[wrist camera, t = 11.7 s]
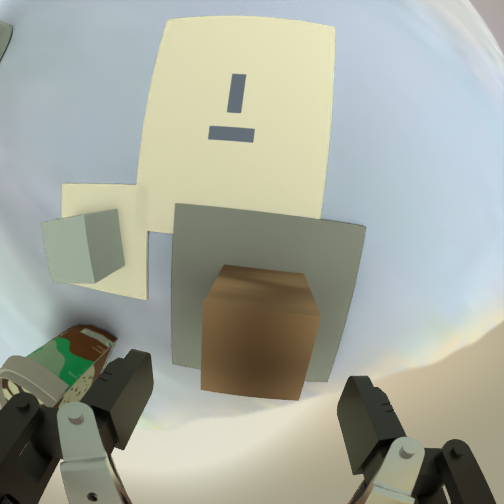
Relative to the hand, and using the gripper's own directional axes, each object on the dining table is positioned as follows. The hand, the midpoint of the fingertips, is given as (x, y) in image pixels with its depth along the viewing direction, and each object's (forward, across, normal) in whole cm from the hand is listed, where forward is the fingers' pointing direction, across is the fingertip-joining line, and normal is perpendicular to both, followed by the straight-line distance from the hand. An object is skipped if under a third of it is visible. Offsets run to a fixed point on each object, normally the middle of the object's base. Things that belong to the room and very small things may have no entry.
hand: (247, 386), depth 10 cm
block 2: (+8, 0, 0) cm, 8 cm away
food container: (+9, +16, +8) cm, 20 cm away
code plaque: (+9, +3, -12) cm, 15 cm away
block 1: (+8, +12, -3) cm, 15 cm away
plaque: (+9, +12, -3) cm, 15 cm away
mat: (+9, 0, 0) cm, 9 cm away
